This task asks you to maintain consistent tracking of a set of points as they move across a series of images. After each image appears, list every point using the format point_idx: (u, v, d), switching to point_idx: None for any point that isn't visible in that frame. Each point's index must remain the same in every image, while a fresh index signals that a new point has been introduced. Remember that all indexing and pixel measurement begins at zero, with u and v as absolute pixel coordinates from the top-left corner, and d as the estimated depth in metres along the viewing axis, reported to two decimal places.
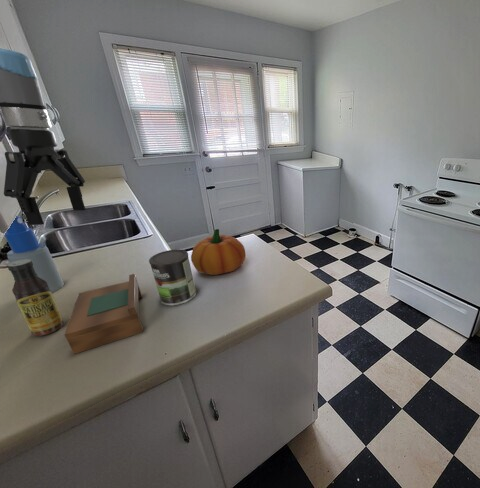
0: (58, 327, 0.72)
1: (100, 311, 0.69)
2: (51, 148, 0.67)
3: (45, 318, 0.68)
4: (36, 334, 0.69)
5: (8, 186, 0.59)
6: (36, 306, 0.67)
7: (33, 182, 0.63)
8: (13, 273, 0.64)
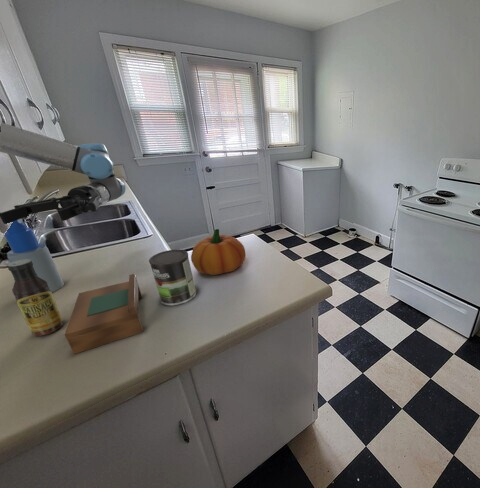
0: (58, 327, 0.72)
1: (100, 311, 0.69)
2: None
3: (45, 318, 0.68)
4: (36, 334, 0.69)
5: (95, 204, 0.78)
6: (36, 306, 0.67)
7: None
8: (13, 273, 0.64)
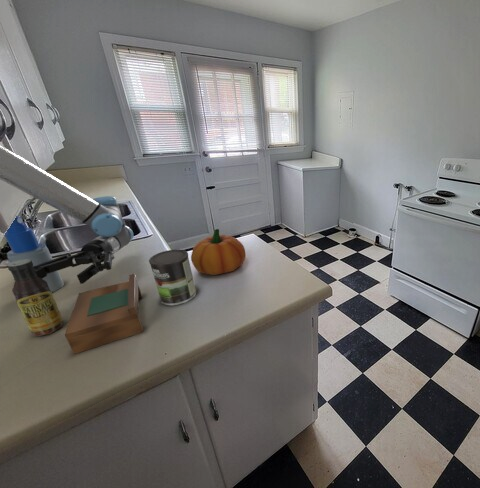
0: (58, 327, 0.72)
1: (100, 311, 0.69)
2: None
3: (45, 318, 0.68)
4: (36, 334, 0.69)
5: (109, 262, 0.83)
6: (36, 306, 0.67)
7: None
8: (13, 273, 0.64)
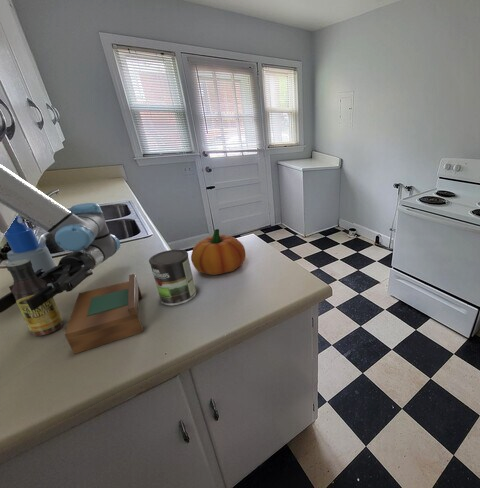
0: (58, 327, 0.72)
1: (100, 311, 0.69)
2: None
3: (45, 318, 0.68)
4: (36, 334, 0.69)
5: (73, 282, 0.72)
6: None
7: None
8: (12, 273, 0.64)
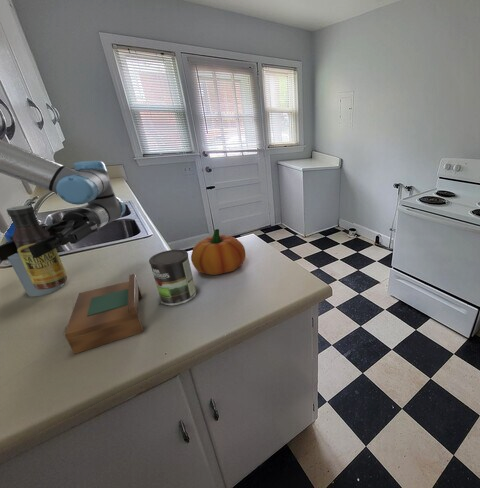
0: (62, 281, 0.67)
1: (100, 311, 0.69)
2: None
3: (48, 270, 0.64)
4: (39, 287, 0.65)
5: (77, 234, 0.68)
6: None
7: None
8: (13, 218, 0.60)
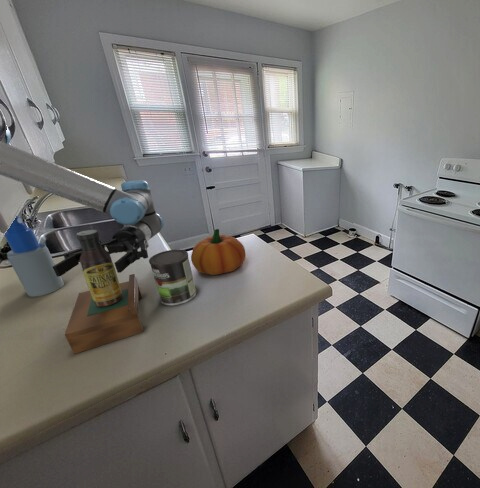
0: (119, 299, 0.73)
1: (100, 311, 0.69)
2: None
3: (108, 288, 0.70)
4: (99, 305, 0.70)
5: (146, 249, 0.75)
6: (101, 276, 0.68)
7: None
8: (82, 242, 0.65)
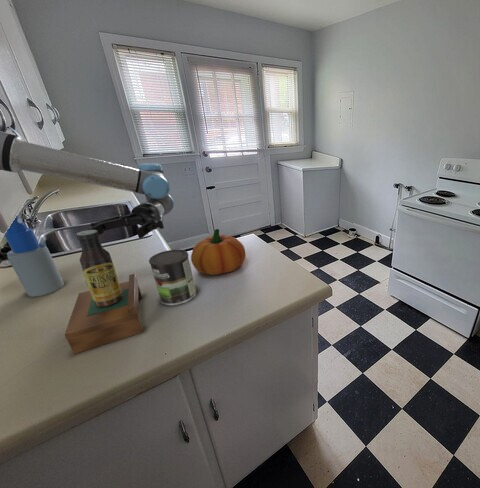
0: (119, 299, 0.73)
1: (100, 311, 0.69)
2: None
3: (108, 288, 0.70)
4: (99, 305, 0.70)
5: None
6: (101, 276, 0.68)
7: None
8: (82, 242, 0.65)
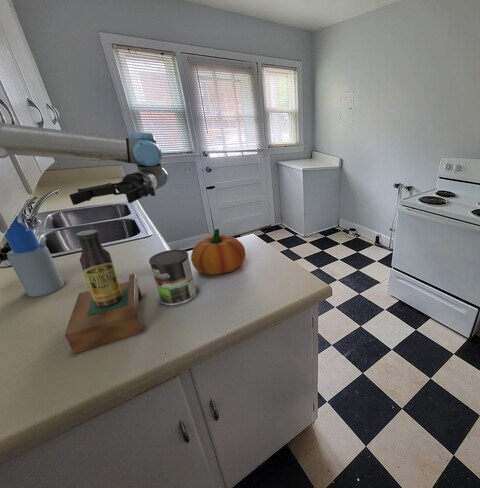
0: (119, 299, 0.73)
1: (100, 311, 0.69)
2: None
3: (108, 288, 0.70)
4: (99, 305, 0.70)
5: None
6: (101, 276, 0.68)
7: None
8: (82, 242, 0.65)
